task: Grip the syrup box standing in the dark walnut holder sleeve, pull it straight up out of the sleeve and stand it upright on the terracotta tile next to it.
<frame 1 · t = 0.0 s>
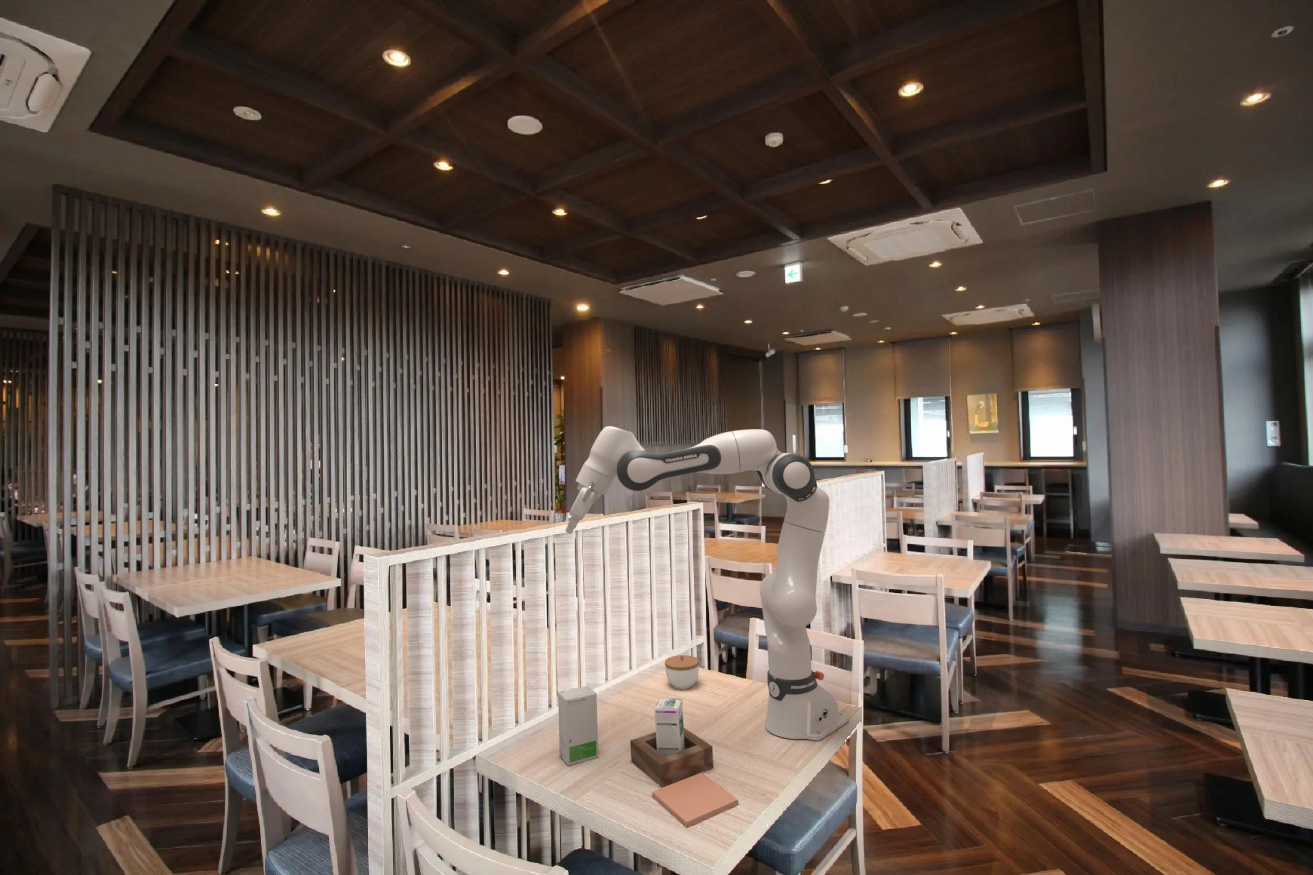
hand: (569, 530, 156), 54 cm above the table, tool tilted 30°, fingers open, 8 cm apart
syrup box: (671, 765, 142), resting in holder sleeve
holder sleeve: (671, 764, 142), on the table
skincare box: (579, 756, 148), on the table
terracotta tile: (694, 800, 127), on the table
lidded jar: (682, 686, 189), on the table
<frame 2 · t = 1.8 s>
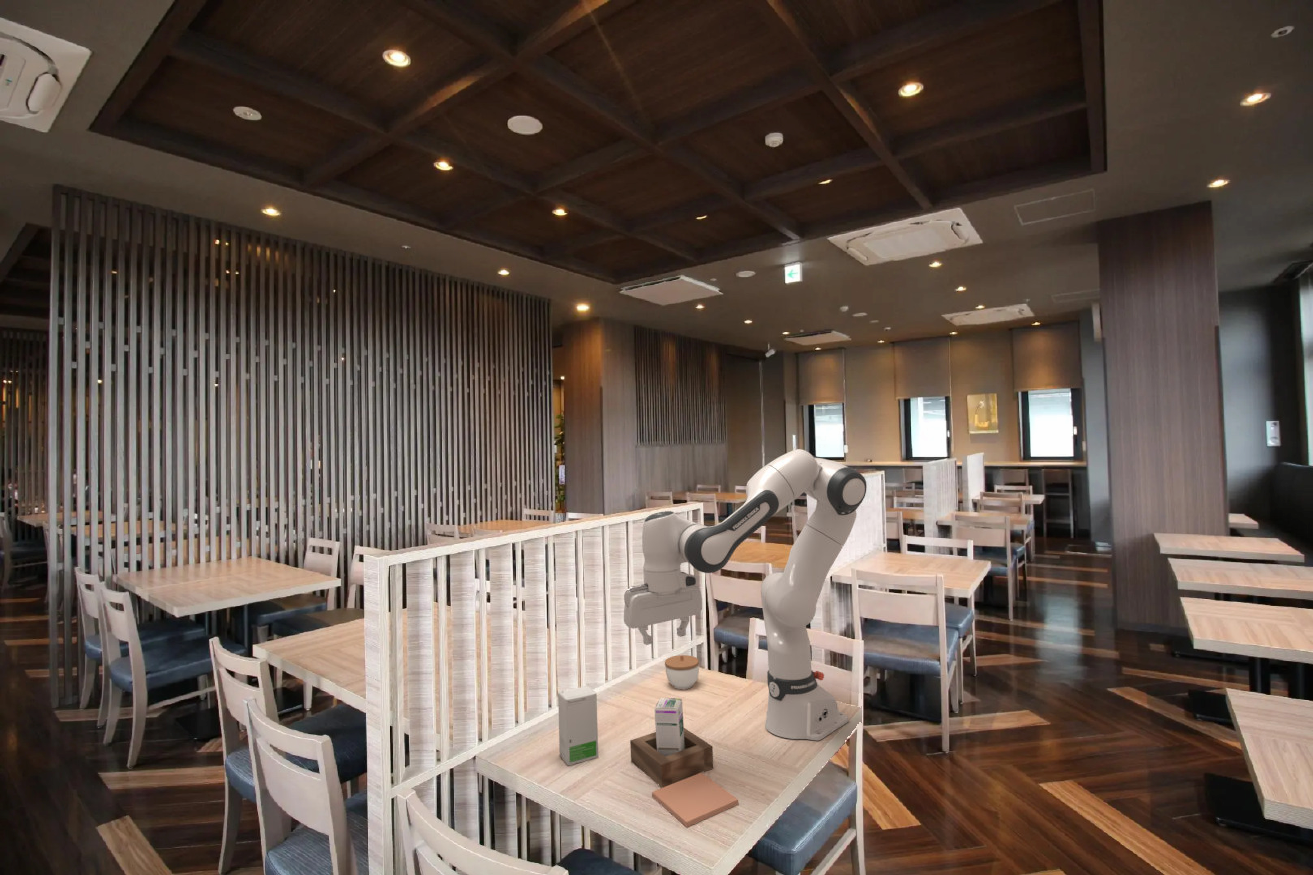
hand: (665, 639, 142), 29 cm above the table, tool pointing down, fingers open, 8 cm apart
nothing on the table moved.
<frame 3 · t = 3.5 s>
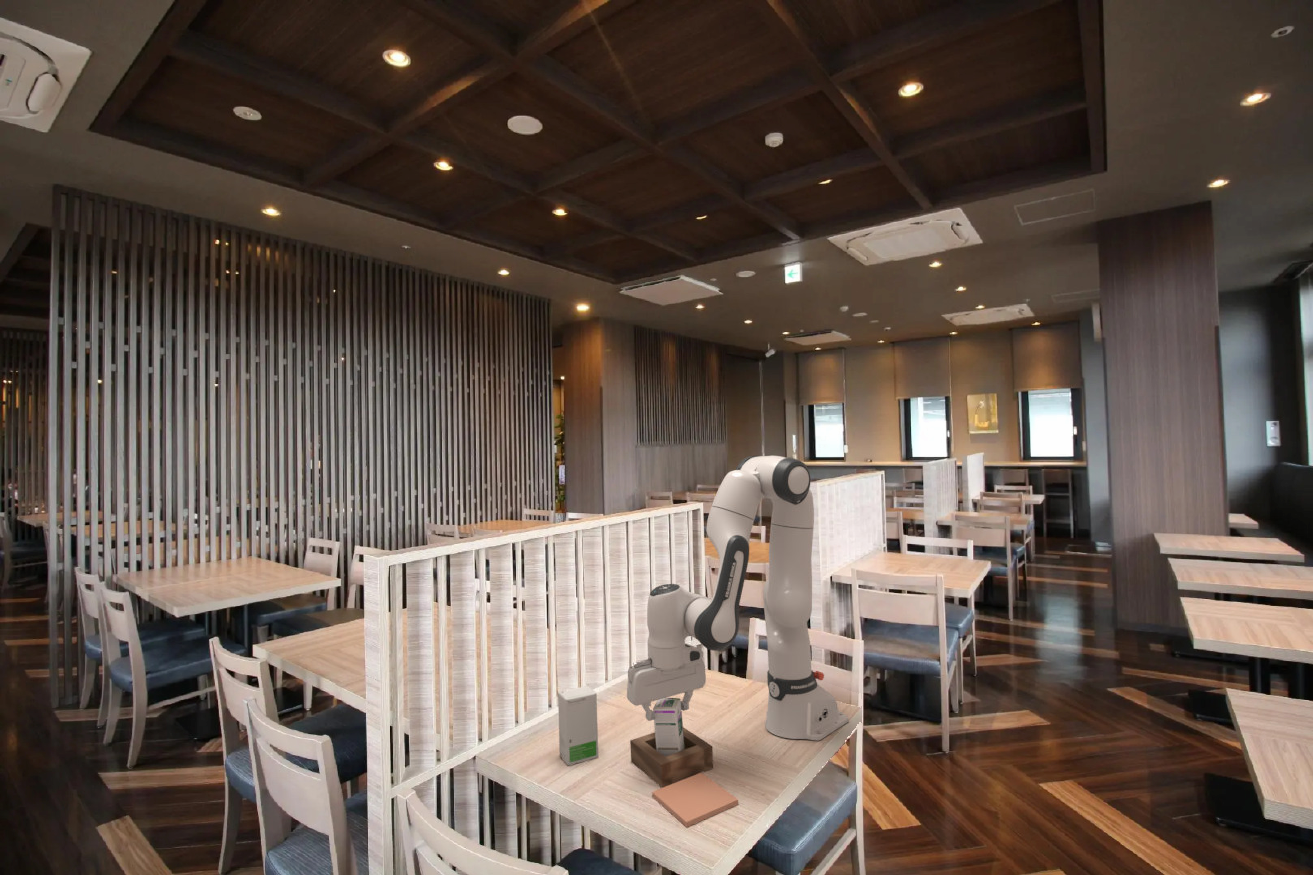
hand: (667, 714, 142), 12 cm above the table, tool pointing down, fingers open, 8 cm apart
nothing on the table moved.
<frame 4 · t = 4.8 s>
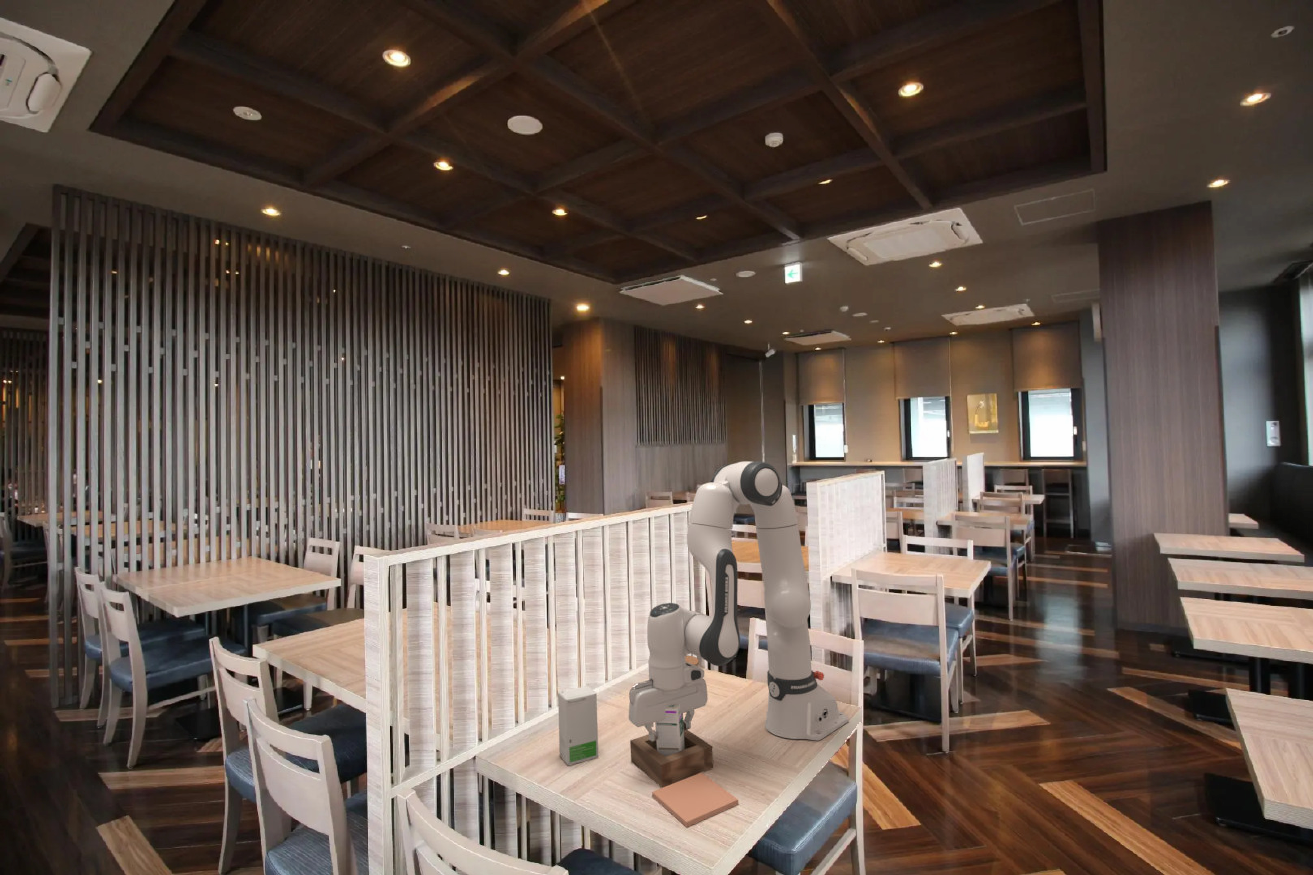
hand: (670, 734, 142), 7 cm above the table, tool pointing down, fingers closed on syrup box, 8 cm apart
syrup box: (671, 765, 142), resting in holder sleeve, touching gripper
everything else where it was.
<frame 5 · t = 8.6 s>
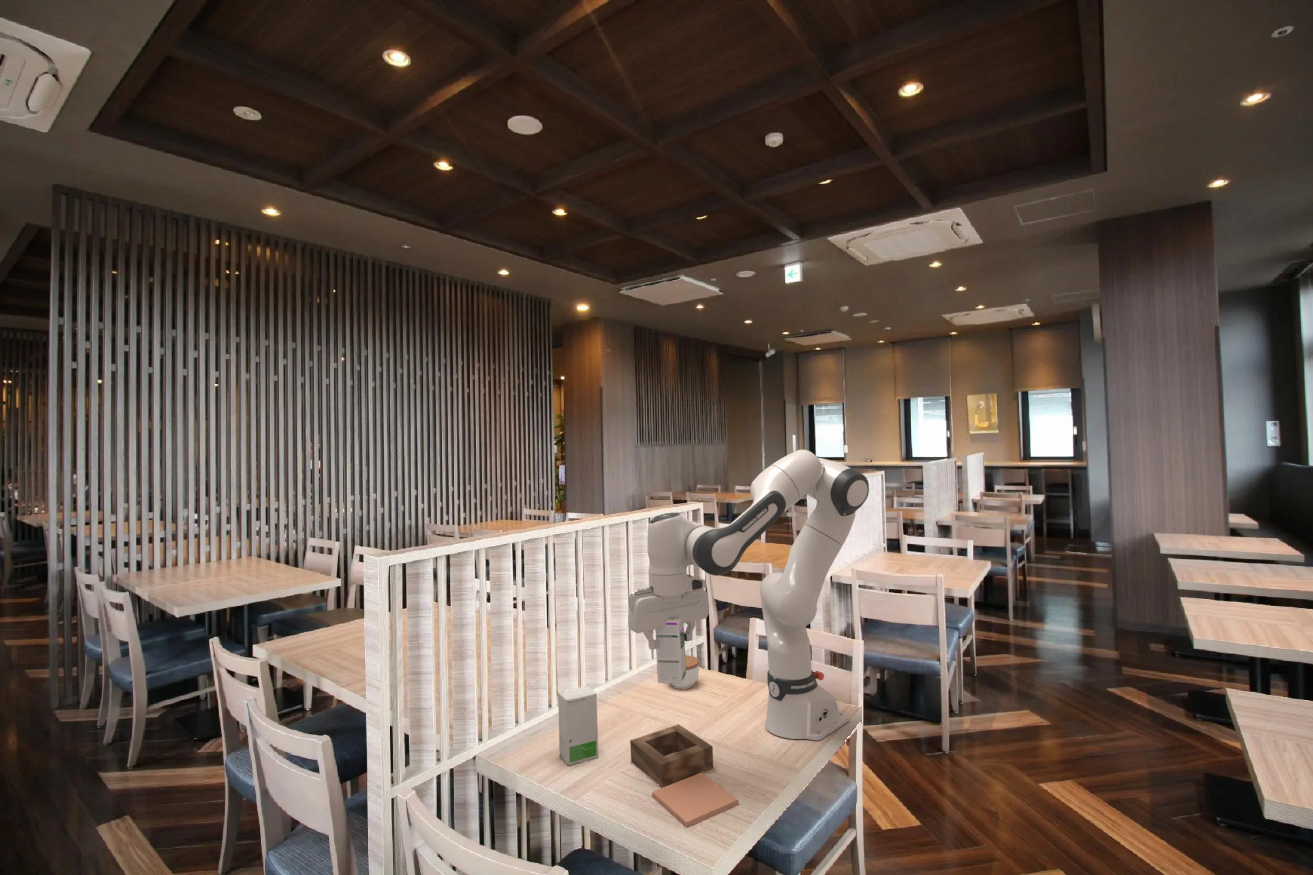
hand: (670, 644, 139), 29 cm above the table, tool pointing down, fingers closed on syrup box, 8 cm apart
syrup box: (671, 680, 139), point 21 cm above the table, touching gripper
everything else where it was.
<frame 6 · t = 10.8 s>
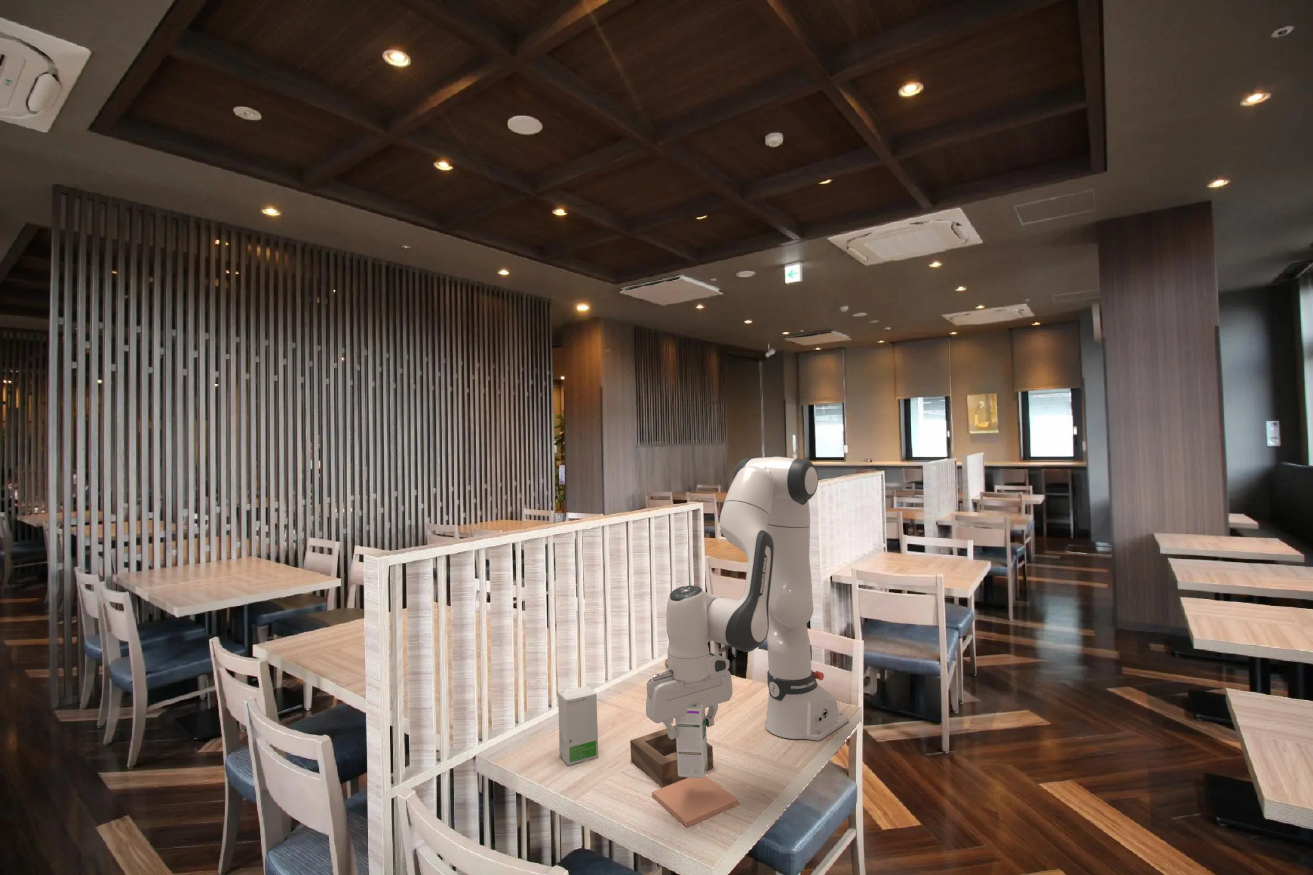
hand: (691, 731, 127), 14 cm above the table, tool pointing down, fingers closed on syrup box, 8 cm apart
syrup box: (692, 771, 127), point 6 cm above the table, touching gripper
everything else where it was.
when the fingers open (10 cm above the table, at t = 12.8 s): syrup box stays where it is, resting on terracotta tile.
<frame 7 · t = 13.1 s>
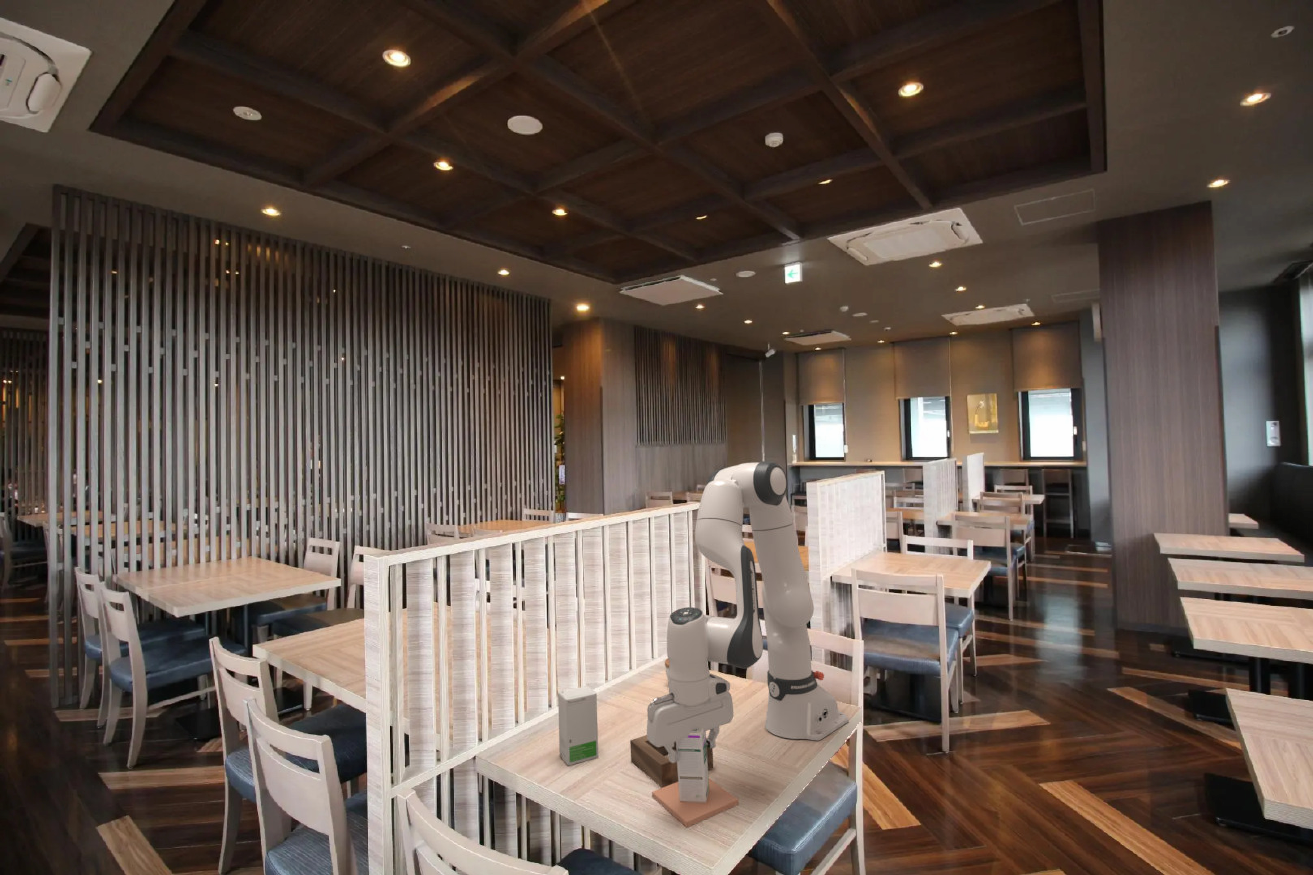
hand: (692, 754, 127), 10 cm above the table, tool pointing down, fingers open, 8 cm apart
syrup box: (694, 795, 127), point 1 cm above the table, touching terracotta tile
everything else where it was.
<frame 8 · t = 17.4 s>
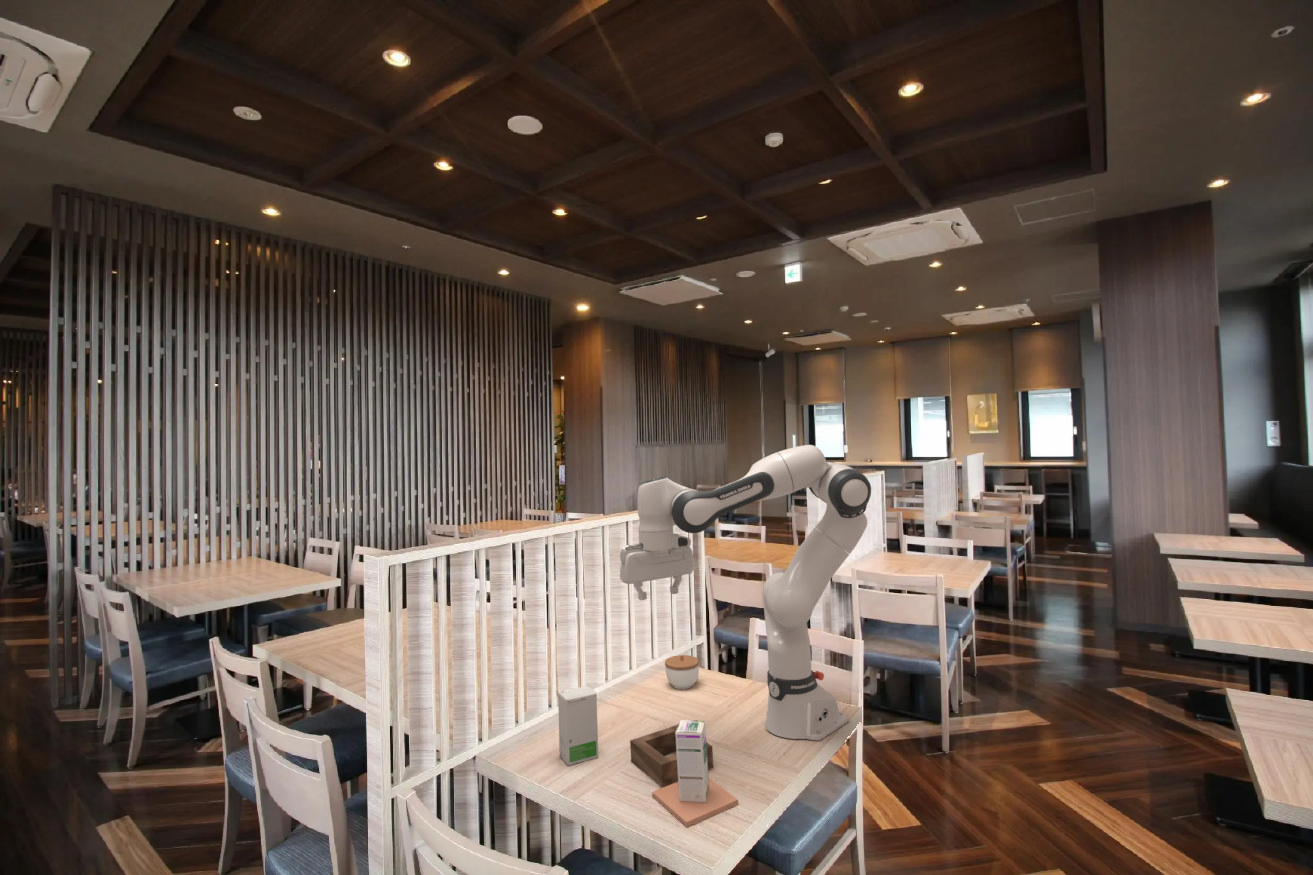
hand: (658, 596, 152), 37 cm above the table, tool pointing down, fingers open, 8 cm apart
nothing on the table moved.
at the end: syrup box inside the target area on the terracotta tile (0.2 cm from its centre), point 0.8 cm above the terracotta tile's base; syrup box tilted 0°; the gripper is holding nothing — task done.
